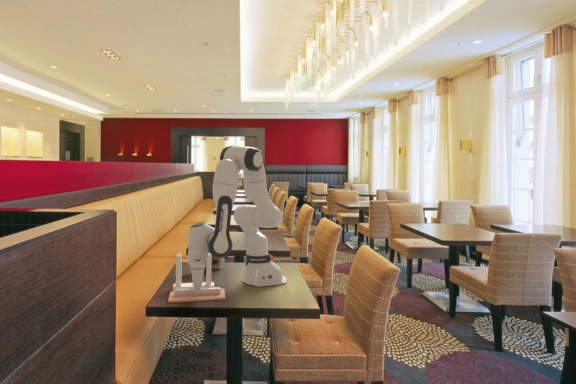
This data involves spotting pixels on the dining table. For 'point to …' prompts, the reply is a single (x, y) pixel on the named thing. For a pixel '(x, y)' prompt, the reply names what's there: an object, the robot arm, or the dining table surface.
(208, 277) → the cradle stand
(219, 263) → the coffee box
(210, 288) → the aluminium rail
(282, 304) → the dining table surface
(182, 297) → the terracotta board
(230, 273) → the dining table surface
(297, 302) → the dining table surface
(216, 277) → the dining table surface
